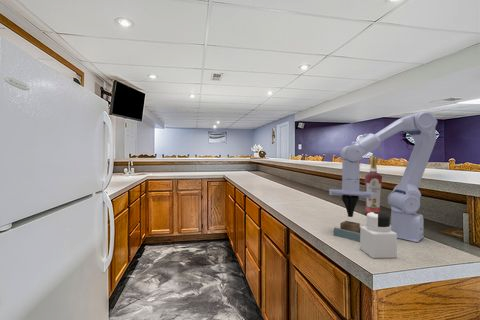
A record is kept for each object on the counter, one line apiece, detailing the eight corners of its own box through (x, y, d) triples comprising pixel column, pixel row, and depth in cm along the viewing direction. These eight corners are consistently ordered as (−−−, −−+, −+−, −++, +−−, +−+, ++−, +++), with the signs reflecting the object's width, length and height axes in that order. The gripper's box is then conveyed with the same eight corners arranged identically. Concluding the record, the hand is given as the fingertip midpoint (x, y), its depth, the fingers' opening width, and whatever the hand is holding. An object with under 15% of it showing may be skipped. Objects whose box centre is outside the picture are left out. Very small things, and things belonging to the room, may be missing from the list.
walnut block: (359, 235, 90) (359, 223, 90) (354, 238, 87) (354, 225, 87) (346, 232, 94) (346, 220, 94) (340, 235, 91) (340, 222, 91)
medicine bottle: (381, 248, 78) (382, 210, 77) (397, 258, 71) (397, 216, 70) (359, 248, 78) (360, 210, 77) (372, 258, 70) (373, 216, 70)
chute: (372, 236, 89) (372, 229, 89) (362, 242, 83) (362, 234, 83) (344, 230, 96) (344, 223, 96) (333, 234, 91) (333, 228, 91)
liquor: (365, 216, 117) (366, 156, 116) (362, 212, 124) (363, 156, 123) (383, 217, 115) (384, 157, 114) (379, 213, 122) (380, 156, 121)
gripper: (374, 179, 89) (374, 216, 90) (332, 177, 97) (332, 211, 98) (372, 180, 83) (372, 221, 84) (327, 178, 91) (327, 215, 92)
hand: (350, 216), depth 90 cm, fingers closed
